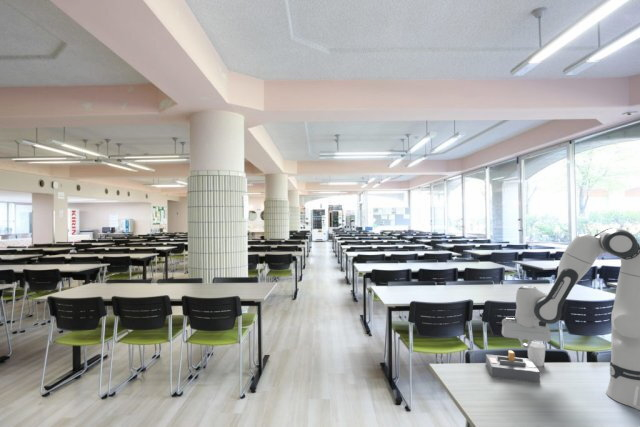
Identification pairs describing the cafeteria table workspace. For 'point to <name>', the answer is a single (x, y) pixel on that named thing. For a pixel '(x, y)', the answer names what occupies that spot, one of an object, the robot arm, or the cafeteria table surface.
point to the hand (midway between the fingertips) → (525, 347)
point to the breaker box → (512, 368)
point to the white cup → (536, 353)
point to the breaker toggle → (511, 356)
